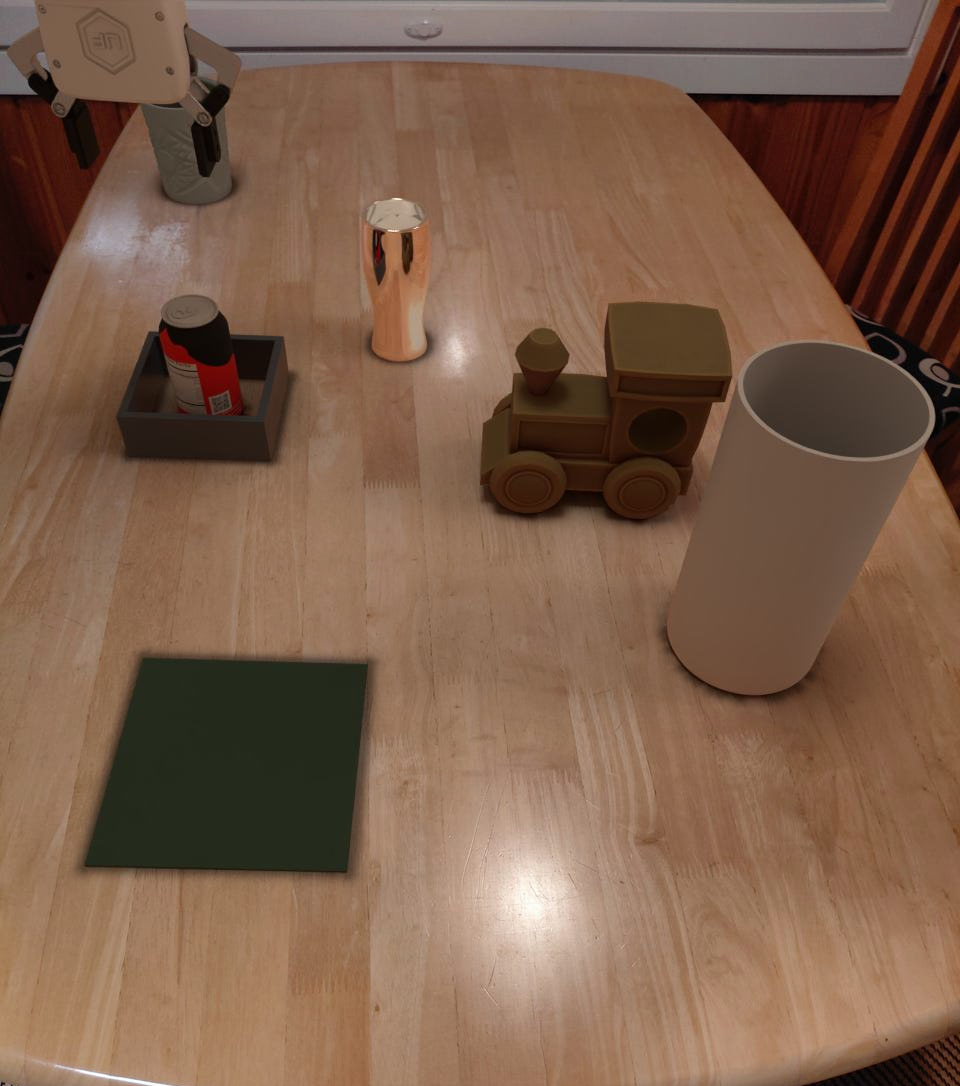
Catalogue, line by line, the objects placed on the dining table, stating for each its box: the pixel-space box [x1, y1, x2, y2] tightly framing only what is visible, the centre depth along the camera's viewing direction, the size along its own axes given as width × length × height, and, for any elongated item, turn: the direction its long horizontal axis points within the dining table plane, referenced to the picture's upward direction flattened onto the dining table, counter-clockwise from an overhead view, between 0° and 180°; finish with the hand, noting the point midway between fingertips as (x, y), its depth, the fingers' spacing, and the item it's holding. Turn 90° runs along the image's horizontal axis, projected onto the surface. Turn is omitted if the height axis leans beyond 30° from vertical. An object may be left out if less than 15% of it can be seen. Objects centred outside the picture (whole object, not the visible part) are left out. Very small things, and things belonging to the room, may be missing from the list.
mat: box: [84, 657, 368, 873], centre depth 72 cm, size 18×18×1 cm
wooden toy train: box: [479, 300, 733, 520], centre depth 86 cm, size 20×11×17 cm, turn 88°
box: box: [115, 330, 290, 463], centre depth 95 cm, size 14×14×5 cm
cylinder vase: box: [666, 339, 936, 696], centre depth 72 cm, size 12×12×25 cm
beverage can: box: [158, 293, 244, 416], centre depth 92 cm, size 6×6×12 cm
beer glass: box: [360, 197, 432, 362], centre depth 100 cm, size 7×7×15 cm
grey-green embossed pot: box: [139, 74, 233, 205], centre depth 121 cm, size 10×10×12 cm
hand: (149, 165), depth 78 cm, fingers open, 9 cm apart
